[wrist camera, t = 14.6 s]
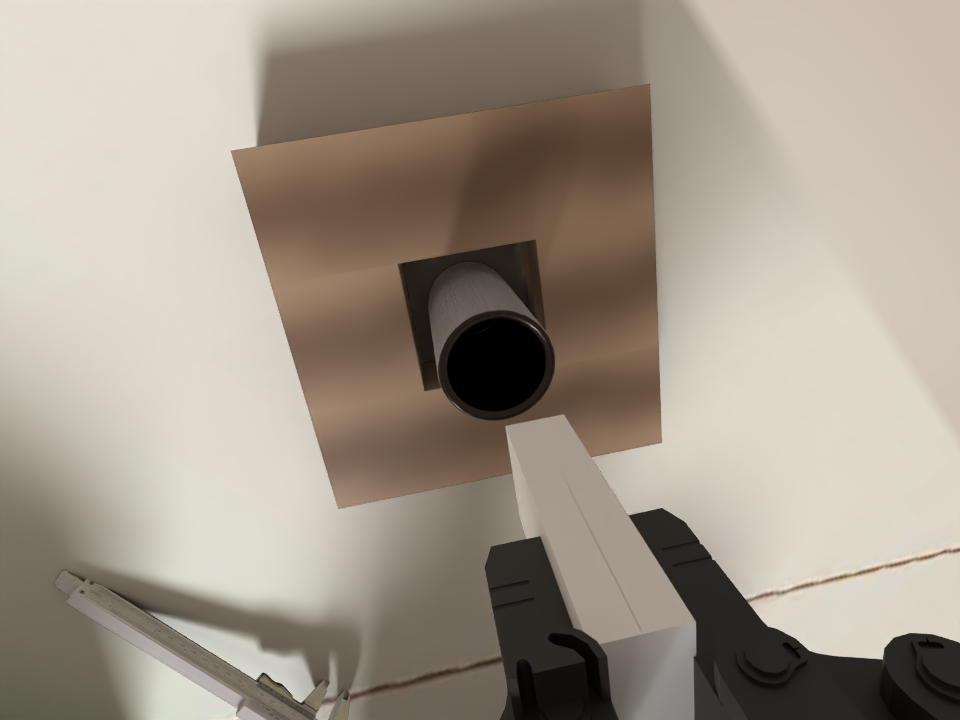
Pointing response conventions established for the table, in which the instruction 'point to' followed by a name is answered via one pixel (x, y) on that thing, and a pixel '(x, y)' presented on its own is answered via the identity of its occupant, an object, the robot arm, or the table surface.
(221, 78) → the table surface
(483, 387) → the grey metal tube
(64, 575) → the caliper
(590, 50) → the table surface
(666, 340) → the table surface
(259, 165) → the socket board
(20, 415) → the table surface
